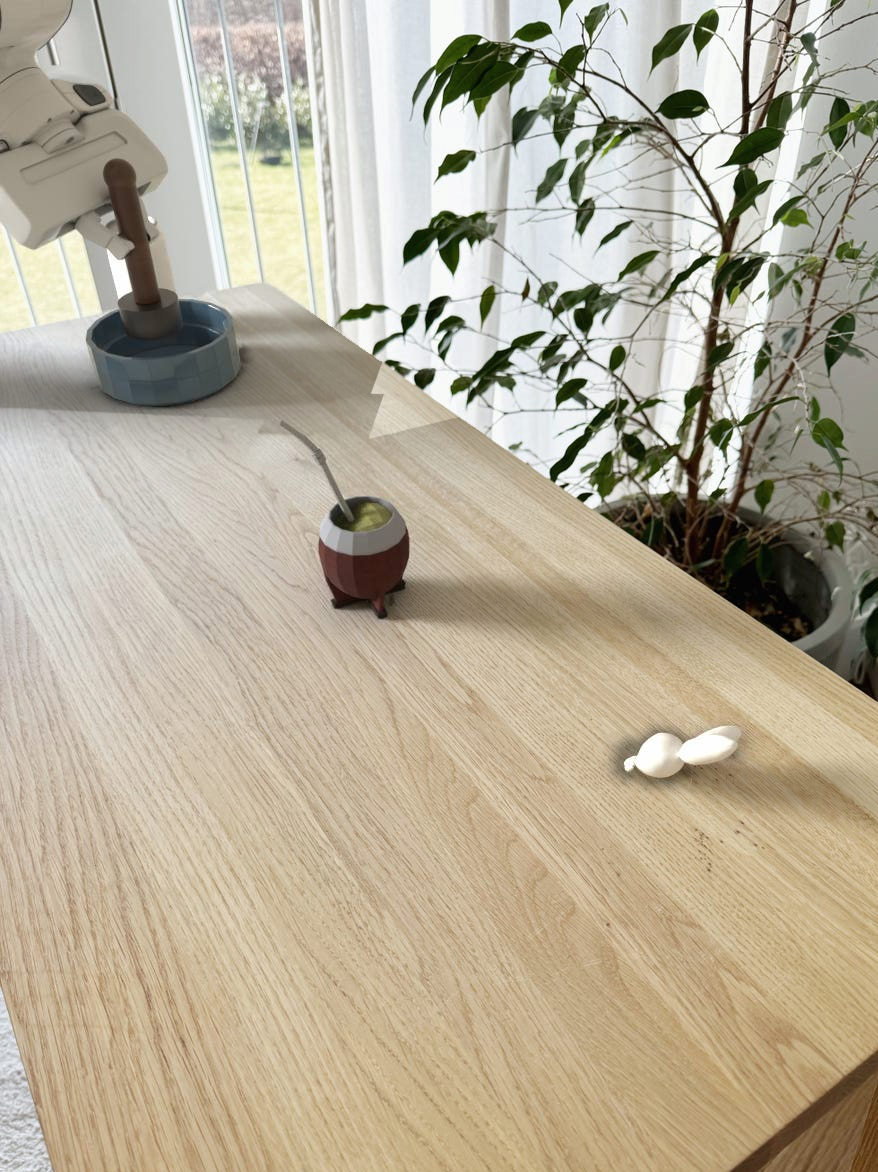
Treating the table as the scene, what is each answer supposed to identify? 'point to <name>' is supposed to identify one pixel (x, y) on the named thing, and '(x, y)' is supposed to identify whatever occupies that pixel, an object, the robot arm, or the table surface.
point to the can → (158, 258)
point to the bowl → (166, 357)
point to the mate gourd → (359, 544)
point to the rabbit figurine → (683, 751)
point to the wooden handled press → (139, 263)
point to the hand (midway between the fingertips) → (140, 247)
